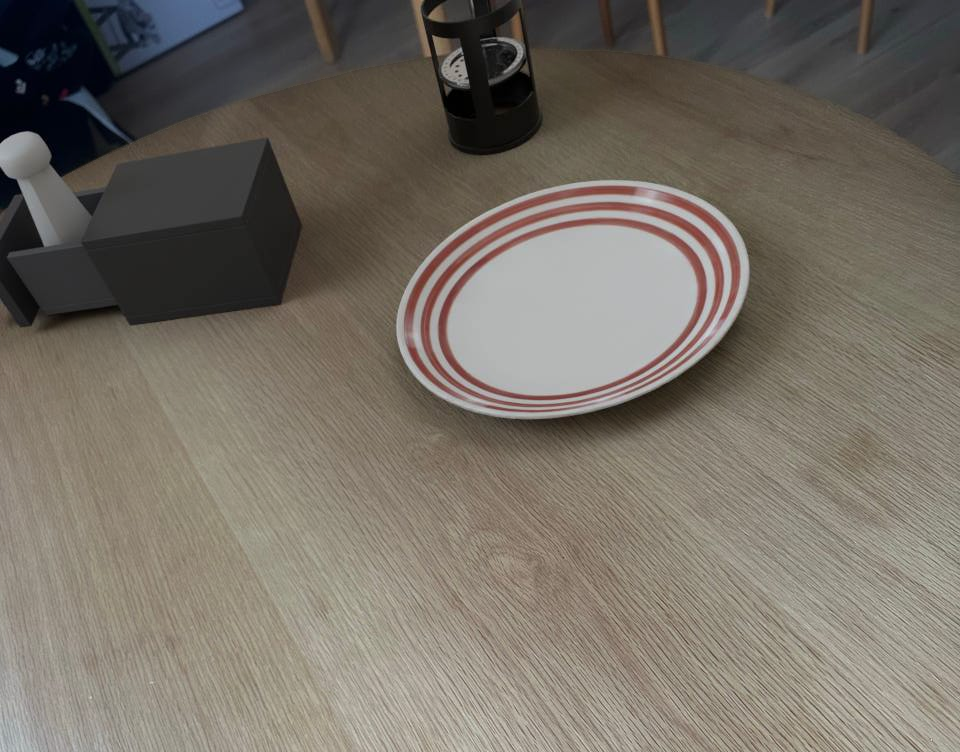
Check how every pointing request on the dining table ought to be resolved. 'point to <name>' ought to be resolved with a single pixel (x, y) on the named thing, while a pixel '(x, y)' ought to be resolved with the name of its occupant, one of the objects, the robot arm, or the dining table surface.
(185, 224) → the drawer casing
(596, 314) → the dinner plate
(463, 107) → the french press
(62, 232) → the salt shaker
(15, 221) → the dark pull-out drawer box
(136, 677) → the dining table surface
